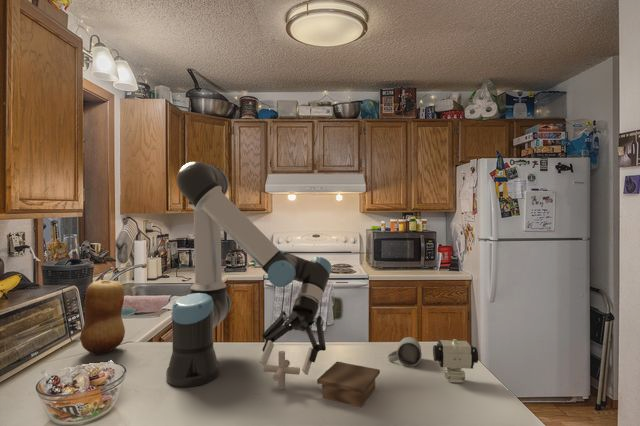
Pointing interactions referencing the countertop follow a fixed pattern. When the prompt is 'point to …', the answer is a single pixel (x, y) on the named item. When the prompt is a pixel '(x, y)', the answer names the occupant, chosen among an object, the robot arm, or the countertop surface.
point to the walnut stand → (348, 383)
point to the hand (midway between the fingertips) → (283, 368)
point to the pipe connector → (281, 370)
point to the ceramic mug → (407, 352)
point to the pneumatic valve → (455, 358)
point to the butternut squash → (103, 317)
